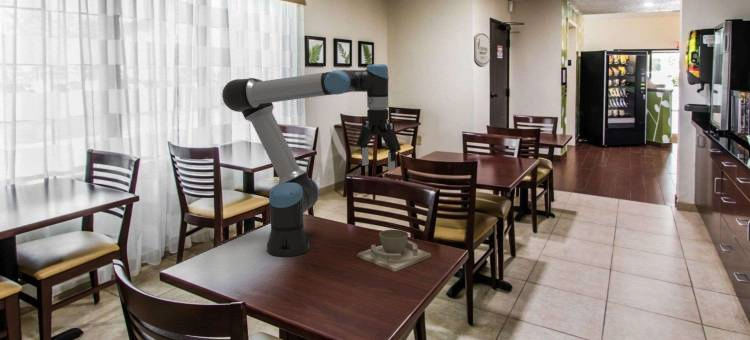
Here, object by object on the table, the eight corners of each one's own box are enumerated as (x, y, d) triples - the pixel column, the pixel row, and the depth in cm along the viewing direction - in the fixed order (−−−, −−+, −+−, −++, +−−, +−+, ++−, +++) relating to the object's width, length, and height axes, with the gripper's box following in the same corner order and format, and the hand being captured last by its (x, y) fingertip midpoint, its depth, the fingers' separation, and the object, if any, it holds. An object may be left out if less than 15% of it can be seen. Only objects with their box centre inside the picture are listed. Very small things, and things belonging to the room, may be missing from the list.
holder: (357, 256, 172) (357, 246, 171) (393, 243, 184) (393, 234, 183) (394, 271, 159) (394, 260, 158) (431, 256, 171) (431, 246, 170)
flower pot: (406, 260, 165) (406, 239, 164) (376, 257, 167) (376, 237, 166) (410, 249, 175) (410, 230, 173) (382, 247, 177) (382, 228, 175)
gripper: (346, 107, 181) (347, 164, 186) (395, 111, 164) (395, 174, 168) (361, 106, 186) (362, 161, 191) (411, 110, 169) (410, 170, 173)
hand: (378, 167), depth 179 cm, fingers open, 13 cm apart
